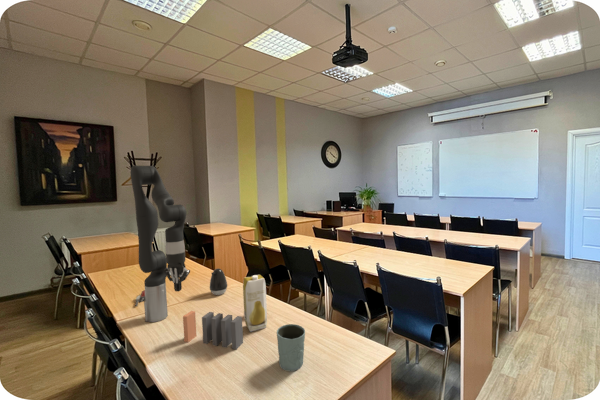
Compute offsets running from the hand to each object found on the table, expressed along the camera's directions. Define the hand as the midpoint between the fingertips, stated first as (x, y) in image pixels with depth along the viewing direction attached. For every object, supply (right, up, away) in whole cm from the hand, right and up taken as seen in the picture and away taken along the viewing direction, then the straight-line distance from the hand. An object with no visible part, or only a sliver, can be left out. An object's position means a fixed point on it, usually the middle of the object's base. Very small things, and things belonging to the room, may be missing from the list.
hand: (178, 290), depth 120 cm
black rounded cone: (+4, -17, +46) cm, 49 cm away
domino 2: (+15, -20, -4) cm, 25 cm away
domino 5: (+28, -19, -9) cm, 35 cm away
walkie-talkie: (-37, -19, +41) cm, 59 cm away
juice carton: (+33, -19, +6) cm, 38 cm away
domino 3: (+19, -19, -5) cm, 28 cm away
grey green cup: (+50, -20, -21) cm, 57 cm away
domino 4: (+23, -19, -7) cm, 31 cm away
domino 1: (+6, -20, -2) cm, 21 cm away
